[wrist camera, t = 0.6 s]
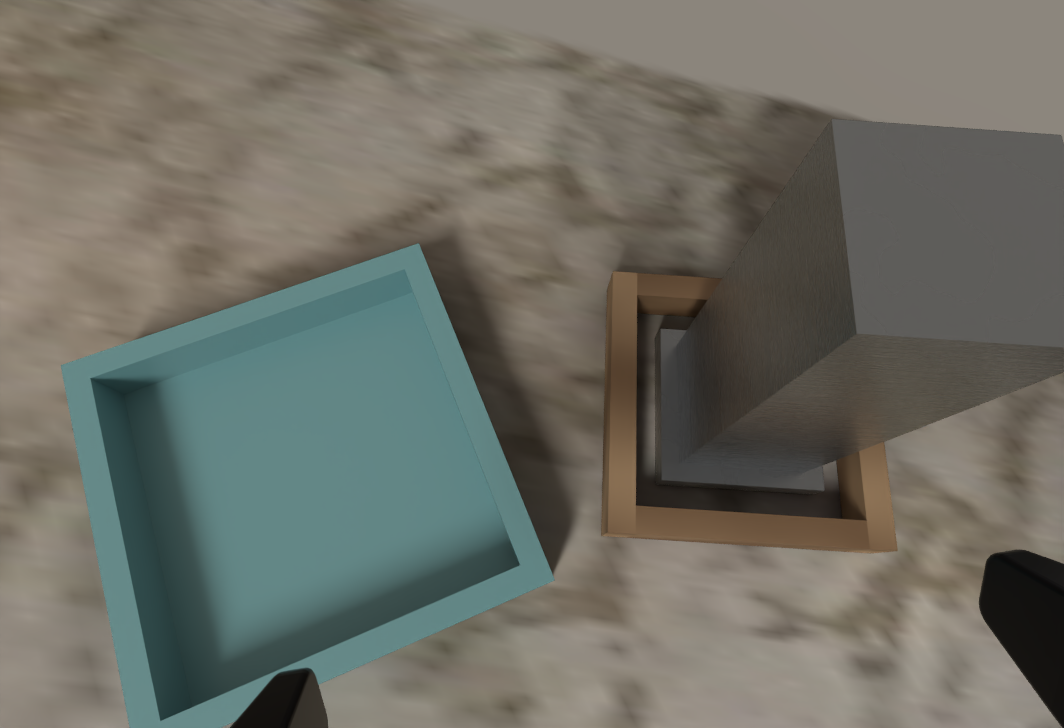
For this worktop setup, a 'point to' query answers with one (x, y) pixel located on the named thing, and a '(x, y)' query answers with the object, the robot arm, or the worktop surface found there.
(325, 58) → the worktop surface
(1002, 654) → the worktop surface
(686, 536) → the socket
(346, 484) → the parts tray
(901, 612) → the worktop surface
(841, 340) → the plate
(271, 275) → the worktop surface
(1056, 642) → the robot arm
